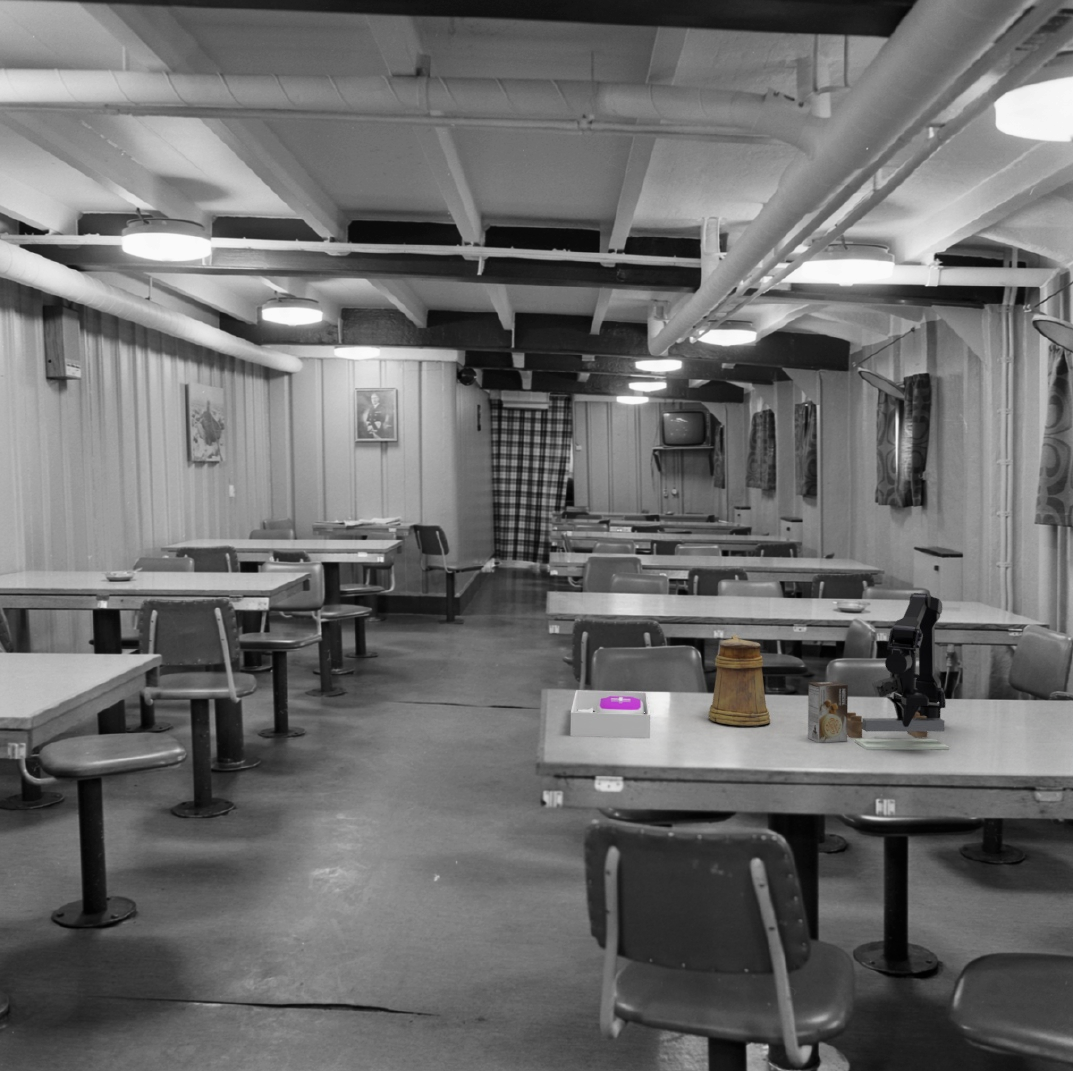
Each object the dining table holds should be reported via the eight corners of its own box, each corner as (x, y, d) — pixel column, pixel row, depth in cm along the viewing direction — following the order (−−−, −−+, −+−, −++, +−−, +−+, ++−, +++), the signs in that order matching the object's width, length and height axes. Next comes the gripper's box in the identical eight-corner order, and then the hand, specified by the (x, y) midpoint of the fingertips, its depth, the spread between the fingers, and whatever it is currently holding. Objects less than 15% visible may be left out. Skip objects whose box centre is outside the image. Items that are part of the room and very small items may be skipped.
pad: (934, 741, 295) (934, 739, 295) (948, 749, 286) (949, 746, 286) (854, 741, 294) (854, 738, 294) (866, 749, 285) (866, 746, 285)
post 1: (853, 732, 306) (853, 711, 306) (862, 737, 299) (862, 716, 299) (843, 732, 306) (843, 711, 305) (851, 737, 299) (852, 716, 298)
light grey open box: (570, 737, 296) (570, 711, 296) (575, 712, 331) (576, 689, 331) (649, 739, 295) (650, 714, 294) (646, 714, 329) (647, 691, 329)
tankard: (716, 727, 309) (718, 643, 309) (700, 711, 333) (702, 633, 332) (776, 728, 310) (778, 644, 309) (756, 712, 334) (758, 634, 333)
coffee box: (835, 736, 300) (836, 680, 299) (847, 741, 294) (849, 684, 293) (806, 738, 298) (808, 682, 297) (818, 743, 291) (819, 685, 291)
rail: (939, 728, 292) (939, 718, 292) (944, 731, 289) (944, 720, 289) (862, 728, 291) (862, 718, 290) (866, 731, 288) (866, 720, 287)
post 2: (916, 732, 307) (917, 712, 307) (927, 737, 300) (927, 717, 300) (906, 732, 307) (907, 712, 306) (916, 737, 300) (917, 717, 299)
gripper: (863, 663, 298) (862, 718, 298) (889, 675, 279) (888, 733, 280) (902, 663, 299) (900, 718, 299) (930, 675, 280) (928, 733, 280)
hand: (903, 725), depth 290 cm, fingers closed on rail, 3 cm apart
